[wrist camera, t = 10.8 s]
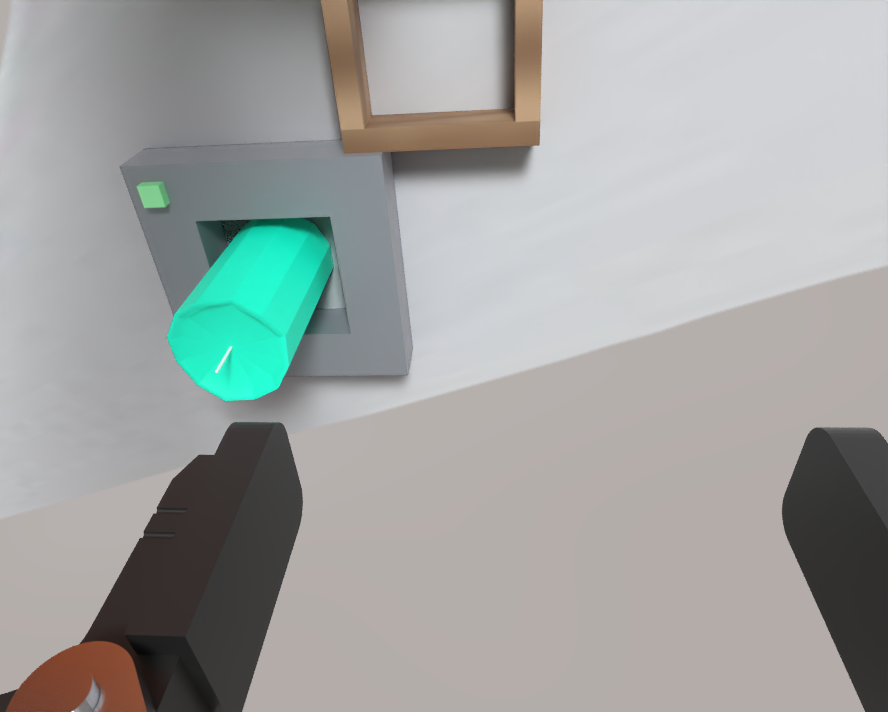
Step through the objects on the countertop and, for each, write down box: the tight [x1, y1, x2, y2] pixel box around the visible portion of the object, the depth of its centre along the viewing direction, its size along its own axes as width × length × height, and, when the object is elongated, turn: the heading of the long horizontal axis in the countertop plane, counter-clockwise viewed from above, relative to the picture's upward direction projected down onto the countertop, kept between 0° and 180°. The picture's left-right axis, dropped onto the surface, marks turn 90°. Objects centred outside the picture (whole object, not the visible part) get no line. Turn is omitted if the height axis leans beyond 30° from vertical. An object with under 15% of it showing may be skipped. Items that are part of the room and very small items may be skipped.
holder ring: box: [321, 0, 543, 154], centre depth 31 cm, size 10×10×2 cm
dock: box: [120, 140, 413, 376], centre depth 38 cm, size 14×14×4 cm
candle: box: [167, 218, 333, 401], centre depth 34 cm, size 6×6×12 cm
